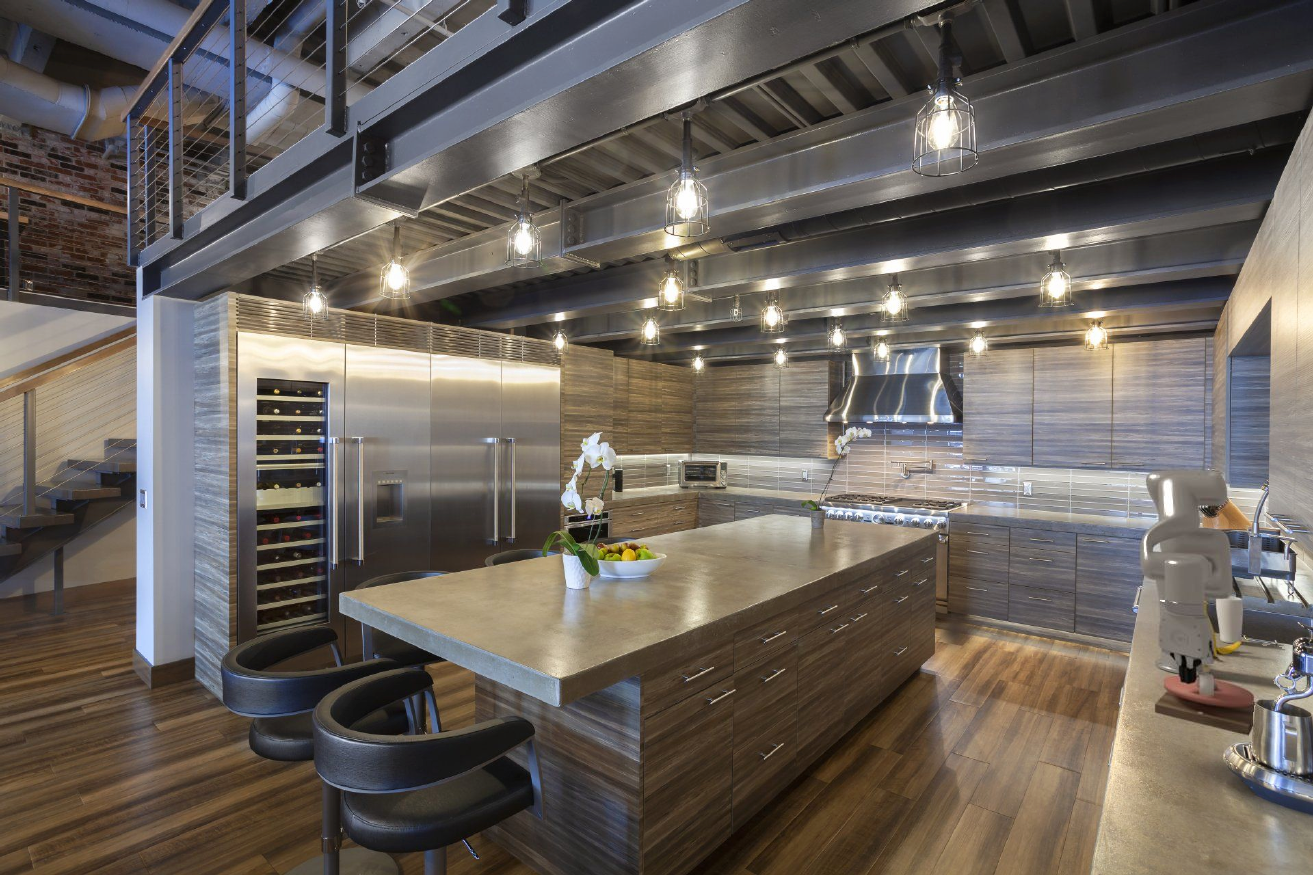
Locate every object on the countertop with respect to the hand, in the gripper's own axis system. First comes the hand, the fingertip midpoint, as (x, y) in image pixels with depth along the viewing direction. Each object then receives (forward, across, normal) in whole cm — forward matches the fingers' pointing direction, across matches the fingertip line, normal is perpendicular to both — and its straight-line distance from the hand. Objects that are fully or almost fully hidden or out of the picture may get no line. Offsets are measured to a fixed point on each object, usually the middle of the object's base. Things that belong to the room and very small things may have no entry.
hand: (1187, 681), depth 155 cm
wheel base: (+8, +1, +6) cm, 10 cm away
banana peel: (+9, -26, +59) cm, 65 cm away
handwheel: (+4, +1, +6) cm, 7 cm away
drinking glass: (+9, -29, +80) cm, 85 cm away
